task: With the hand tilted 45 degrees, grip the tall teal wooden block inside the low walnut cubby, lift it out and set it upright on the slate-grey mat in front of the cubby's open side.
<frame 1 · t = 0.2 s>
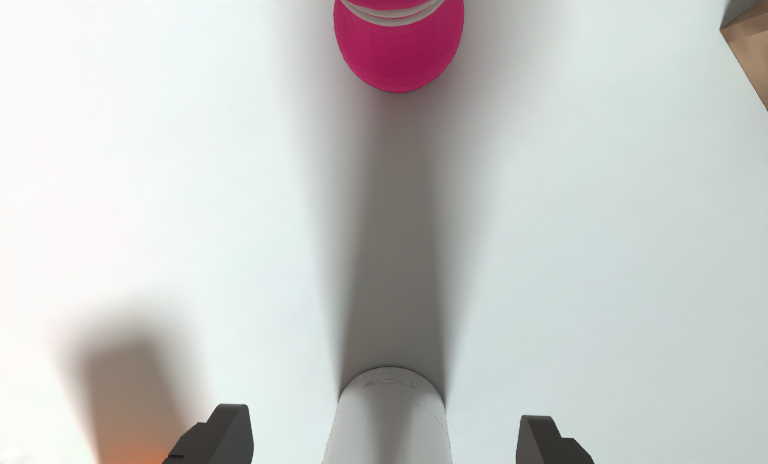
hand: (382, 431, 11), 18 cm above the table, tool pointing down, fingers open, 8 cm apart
pepper mill: (399, 45, 25), on the table
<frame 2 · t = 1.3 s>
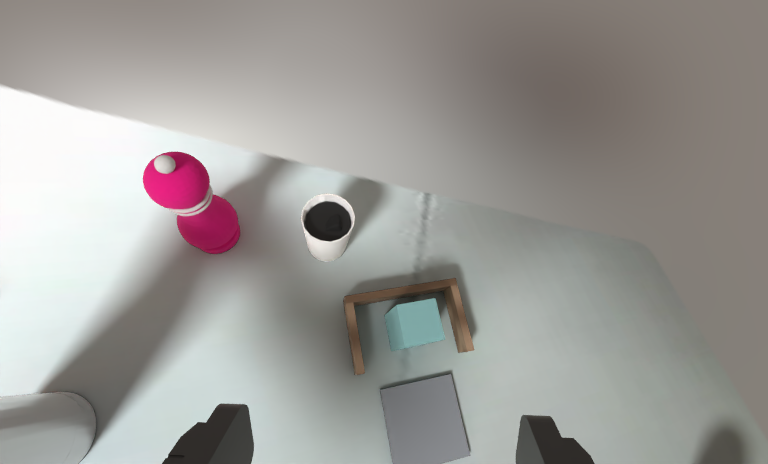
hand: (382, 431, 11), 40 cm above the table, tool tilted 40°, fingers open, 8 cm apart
walnut cubby: (404, 329, 52), on the table
white paper cup: (327, 243, 55), on the table
pepper mill: (217, 233, 53), on the table
teal block: (412, 326, 48), in the walnut cubby
slate mat: (423, 421, 48), on the table
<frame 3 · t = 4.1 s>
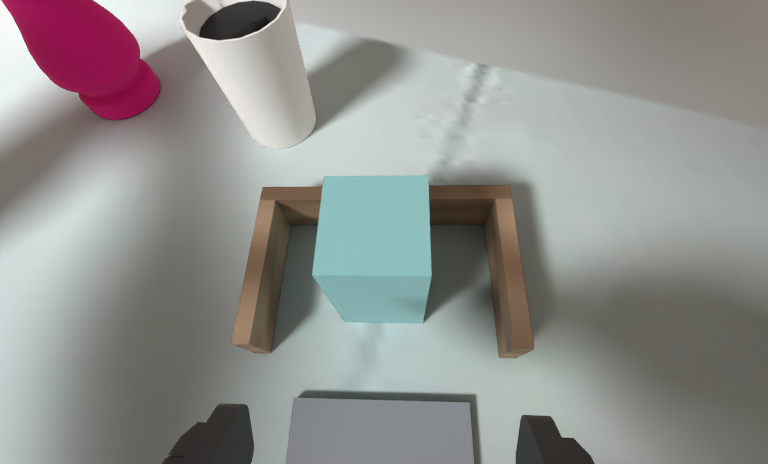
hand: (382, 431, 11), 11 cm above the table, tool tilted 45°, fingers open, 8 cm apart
walnut cubby: (384, 284, 24), on the table
white paper cup: (283, 123, 31), on the table
pepper mill: (128, 96, 34), on the table
teal block: (380, 259, 20), in the walnut cubby
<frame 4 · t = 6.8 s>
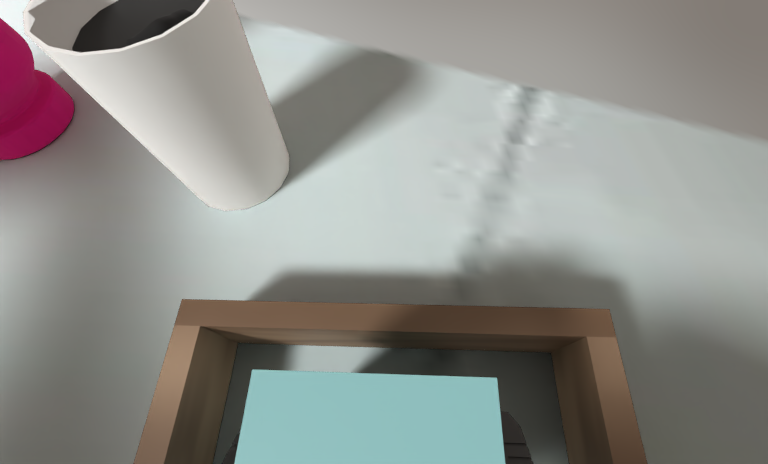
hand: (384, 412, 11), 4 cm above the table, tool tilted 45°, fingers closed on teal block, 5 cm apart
white paper cup: (242, 170, 22), on the table
pepper mill: (29, 125, 24), on the table
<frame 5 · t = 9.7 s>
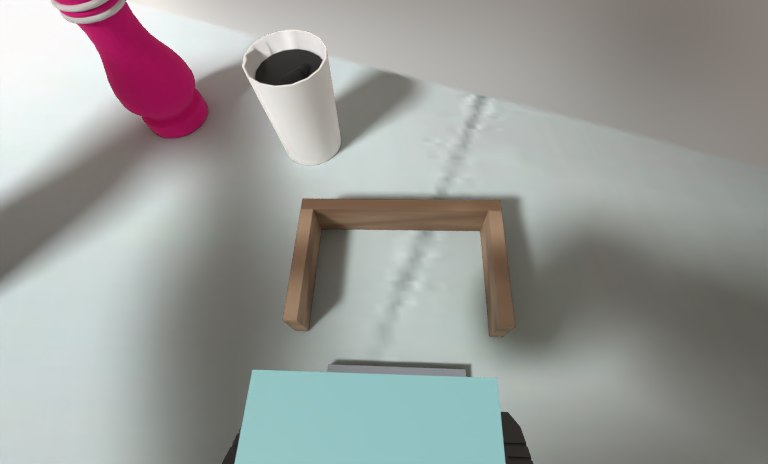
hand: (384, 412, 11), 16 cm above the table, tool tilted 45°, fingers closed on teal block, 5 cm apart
walnut cubby: (398, 278, 30), on the table
white paper cup: (313, 144, 37), on the table
pepper mill: (180, 118, 40), on the table
slate mat: (394, 445, 25), on the table
when the fingers open (6 cm above the table, at t = 12.6 s): teal block drops 1 cm, resting on slate mat.
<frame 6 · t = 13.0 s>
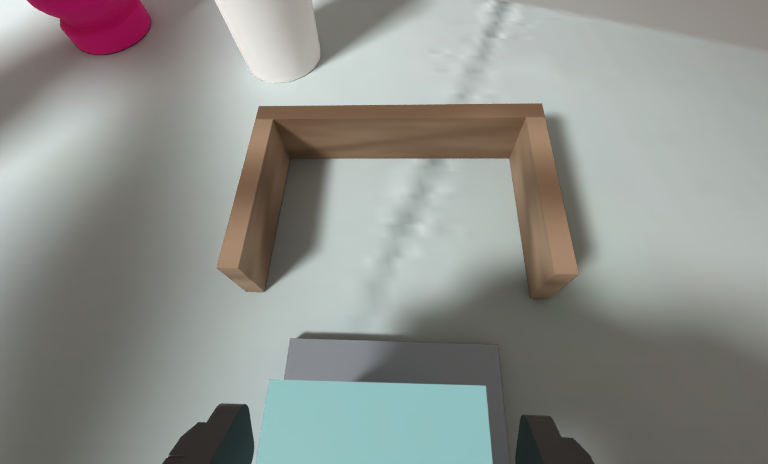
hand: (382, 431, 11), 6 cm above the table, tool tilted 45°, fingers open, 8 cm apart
walnut cubby: (396, 220, 21), on the table
white paper cup: (284, 59, 29), on the table
pepper mill: (116, 33, 31), on the table
slate mat: (389, 462, 16), on the table
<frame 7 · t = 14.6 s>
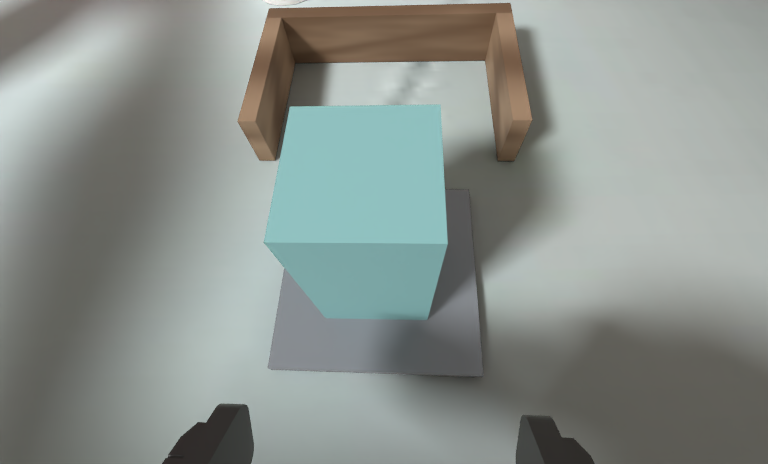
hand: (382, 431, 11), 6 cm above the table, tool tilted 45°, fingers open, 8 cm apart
walnut cubby: (386, 107, 25), on the table
teal block: (371, 233, 15), on the slate mat, point 5 cm above the table
slate mat: (379, 273, 20), on the table
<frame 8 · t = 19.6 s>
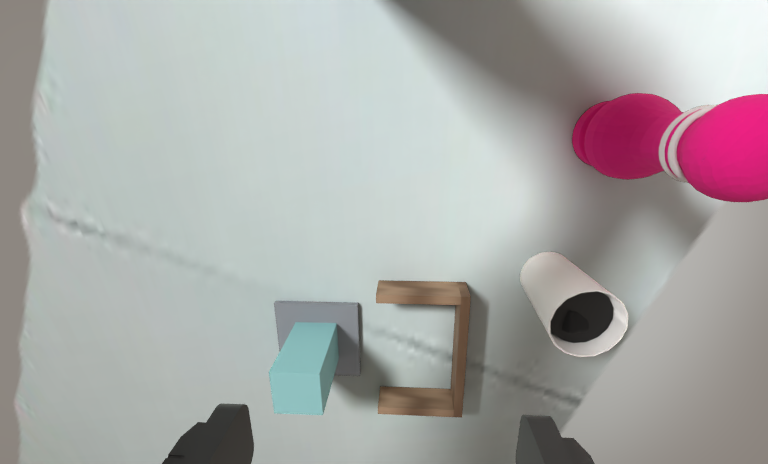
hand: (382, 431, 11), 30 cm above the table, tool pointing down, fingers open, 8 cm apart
walnut cubby: (416, 340, 45), on the table
white paper cup: (545, 274, 41), on the table
pepper mill: (603, 134, 36), on the table
teal block: (308, 364, 40), on the slate mat, point 5 cm above the table
slate mat: (319, 337, 45), on the table
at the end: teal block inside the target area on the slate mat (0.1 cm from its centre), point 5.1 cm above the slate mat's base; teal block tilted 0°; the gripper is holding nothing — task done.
